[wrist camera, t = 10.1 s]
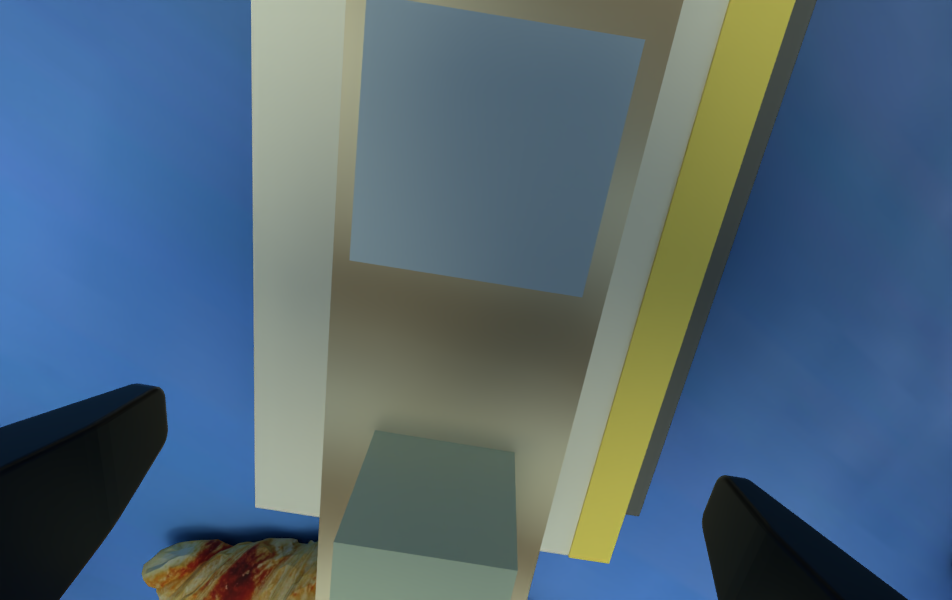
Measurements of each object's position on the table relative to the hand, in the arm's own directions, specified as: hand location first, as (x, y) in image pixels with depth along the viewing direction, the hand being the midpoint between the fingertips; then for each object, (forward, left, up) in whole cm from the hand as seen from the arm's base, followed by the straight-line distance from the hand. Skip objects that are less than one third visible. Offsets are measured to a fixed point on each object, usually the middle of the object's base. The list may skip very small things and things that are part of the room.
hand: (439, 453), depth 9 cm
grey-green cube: (-5, 0, -4) cm, 6 cm away
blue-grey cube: (+5, 0, -4) cm, 6 cm away
